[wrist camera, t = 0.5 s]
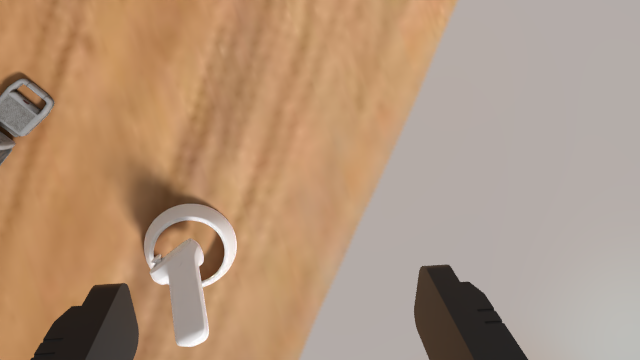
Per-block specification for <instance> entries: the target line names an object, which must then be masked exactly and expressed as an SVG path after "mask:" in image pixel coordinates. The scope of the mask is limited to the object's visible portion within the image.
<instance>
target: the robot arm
mask: <svg viewBox="0 0 640 360" xmlns="http://www.w3.org/2000/svg"><path fill="white" fill-rule="evenodd" d="M414 315H415V323H416V327H417V330H418V333H419V335H420V338H421V340H422V342H423V345H424V347H425V350H426V352H427V355H428V357H429V360H528V359H527V357H526V356H525V354H524V353H523V351H522V350H521V348H520V347H519V345H518V344H517V342H516V341H515V339H514V338H513V336H512V335H511V333H510V332H509V330H508V329H507V327H506V326H505V324H504V323H502V320H501V318H500V317H499V315H498V314H497V312H496V311H494V308H493V306H492V305H491V303H490V302H489V300H488V299H487V297H486V296H485V294H484V293H483V292H481V291H480V290H479V289H477V288H476V287H475V286H474V285H472V284H471V283H470V282H460V281H459V280H458V278H457V276H456V275H455V273H454V271H453V270H452V268H451V267H450V266H449V265H433V266H422V267H421V268H420V271H419V277H418V285H417V292H416V300H415V306H414ZM138 337H139V331H138V324H137V320H136V316H135V312H134V307H133V303H132V299H131V295H130V291H129V288H128V286H127V284H125V283H121V284H104V285H95V286H93V287H92V289H91V290H90V292H89V294H88V296H87V297H86V299H85V301H84V303H83V304H82V306H72V307H71V308H70V309H68V310H67V311H66V312H65V313H64V314H63V315H61V316H60V317H59V318H58V319H57V320H56V321H55V322H54V323H53V324H52V326H51V328H50V329H49V331H48V333H47V334H46V336H45V337H44V339H43V343H41V344H40V345H39V347H38V349H37V350H36V352H35V354H34V358H31V360H133V358H134V356H135V353H136V350H137V345H138Z"/></svg>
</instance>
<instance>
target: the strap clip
mask: <svg viewBox="0 0 640 360" xmlns="http://www.w3.org/2000/svg"><path fill="white" fill-rule="evenodd" d="M23 84H24V85H26V86H27V87H28V88H30V89H31V90H32V91H33V92H35V93H36V94H37V95H38V96H40V97H41V98H42V99H43V100H45V101H46V105H45V107H44V108H43V109H42V111H41V110H40V109H39V108H37V107H36V106H35V105H34V104H32V103H31V102H30V101H28V100H27V99H26V98H25V97H23V96H22V95H21V94H20V93H18V92H17V91H16V90H17V89H18V88H19V87H20V86H21V85H23ZM53 106H54V100H53V99H52V98H51V97H50V96H49V95H48V94H47V93H45V92H44V91H43V90H42V89H40V88H39V87H38V86H37V85H35V84H34V83H32V82H31V81H30V80H28V79H19V80H17V81H16V82H14V83H13V84H11V85H10V86H8V87H7V89H6V90H5V91H4V92H3V94H2V95H1V96H0V126H1V127H3V128H4V129H5V130H7V131H8V132H9V133H11V134H12V135H13V136H15V137H18V136H25V135H27V134H28V133H30V132H31V131H32V130H33V129H34V128H35V127H36V126H37V125H38V124H39V123H40V122H41V121H42V120H43V119H44V118H45V117H46V116H48V114H49V113H50V111H51V109H52V108H53ZM15 144H16V143H15V142H14V141H13V140H11V139H10V138H8V137H7V136H6V135H4V134H3V133H2V132H0V165H1V164H2V163H3V161H4V160H5V159H6V158H7V156H8V155H9V154H10V153H11V151H12V148H13V147H14V146H15Z"/></svg>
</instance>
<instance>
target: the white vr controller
mask: <svg viewBox="0 0 640 360" xmlns="http://www.w3.org/2000/svg"><path fill="white" fill-rule="evenodd" d="M186 220H194V221H199V222H202V223H205V224H207V225H209V226H210V227H212V228H213V229H214V230H215V231H216V232H217V233H218V234H219V236H220V237H221V239H222V241H223V244H224V249H225V250H224V259H223V263H222V265H221V267H220V268H219V270H218V271H217V272H216V273H215V274H214V275H213V276H211V277H210V278H208V279H206V280H203V281H201V276H200V270H199V266H200V265H202V263H203V261H204V256H203V252H202V249H201V246H200V245H199V243H198V242H196V241H195V240H193V239H188V240H186V241H184V242H183V243H181V244H180V245H179V246H177V247H176V248H175V249H174V250H172V251H171V252H170V253H168V254H167V255H166V256H164V257H163V258H161V254H159V255H157V256H156V257H155V258H154V247H155V243H156V241H157V238H158V237H159V235H160V234H161V233H162V232H163V231H164V230H165V229H166V228H167V227H169V226H170V225H172V224H174V223H177V222H180V221H186ZM236 251H237V241H236V236H235V232H234V230H233V228H232V226H231V224H230V223H229V221H228V220H227V219H226V218H225V217H224V216H223V215H222V214H221V213H219V212H218V211H216V210H215V209H213V208H210V207H208V206H205V205H200V204H182V205H177V206H174V207H172V208H169V209H167V210H166V211H164V212H163V213H161V214H160V215H159V216H158V217H157V218H155V219H154V221H153V222H152V223H151V225H150V226H149V228H148V231H147V233H146V235H145V240H144V253H145V257H146V261H147V263H148V265H149V267H150V269H151V270H150V275H151V277H152V278H153V280H154V281H155V282H157V283H159V284H161V285H164V284H168V285H169V286H170V295H171V304H172V314H173V323H174V332H175V339H176V343H177V345H179V346H184V347H192V346H195V345H198V344H200V343H202V342H204V341H205V340H206V339H207V337H208V335H209V327H208V319H207V313H206V307H205V300H204V294H203V287H205V286H207V285H210V284H212V283H214V282H215V281H217V280H218V279H220V278H221V277H222V276H223V275H224V274H225V273H226V272H227V271H228V269H229V268H230V267H231V265H232V263H233V261H234V259H235V255H236Z"/></svg>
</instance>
